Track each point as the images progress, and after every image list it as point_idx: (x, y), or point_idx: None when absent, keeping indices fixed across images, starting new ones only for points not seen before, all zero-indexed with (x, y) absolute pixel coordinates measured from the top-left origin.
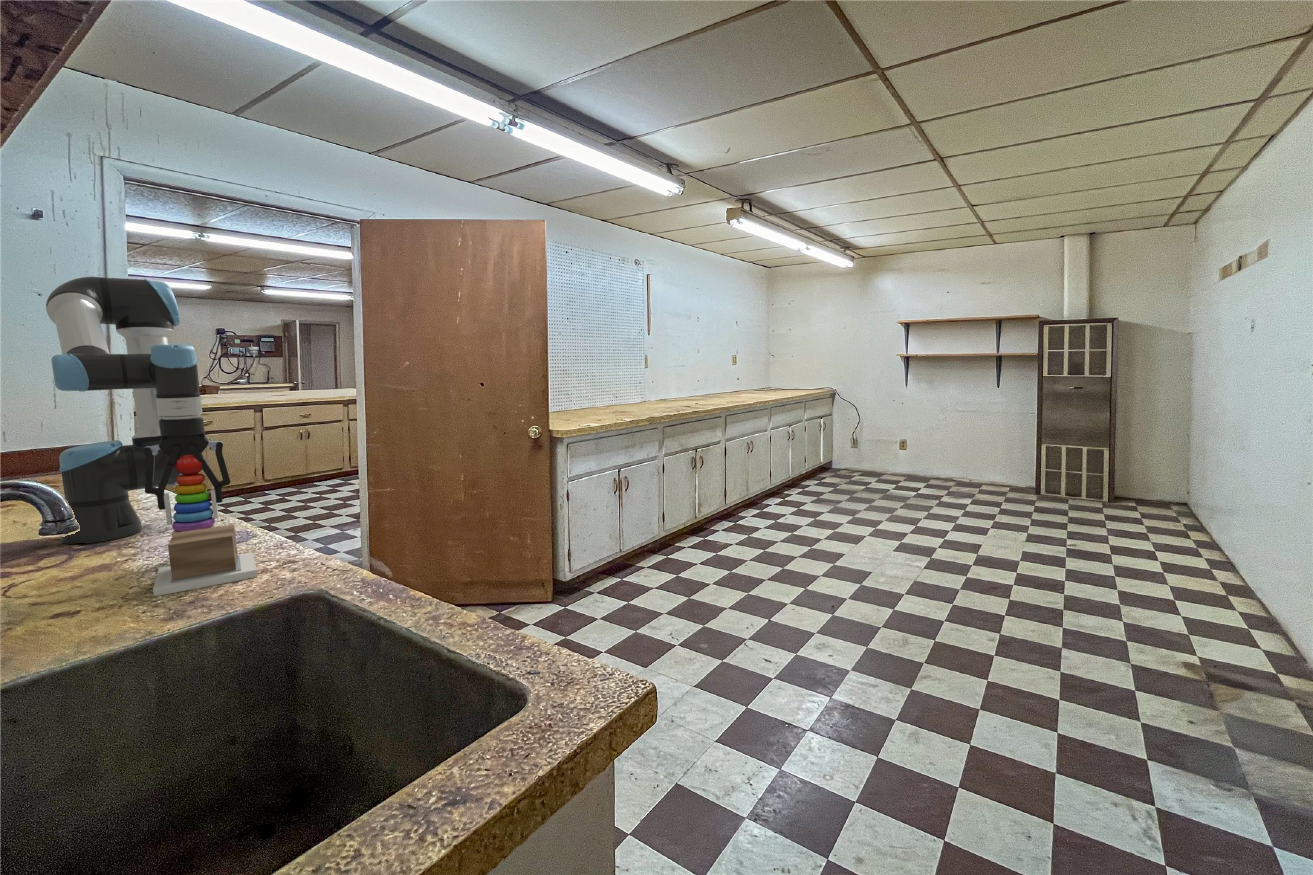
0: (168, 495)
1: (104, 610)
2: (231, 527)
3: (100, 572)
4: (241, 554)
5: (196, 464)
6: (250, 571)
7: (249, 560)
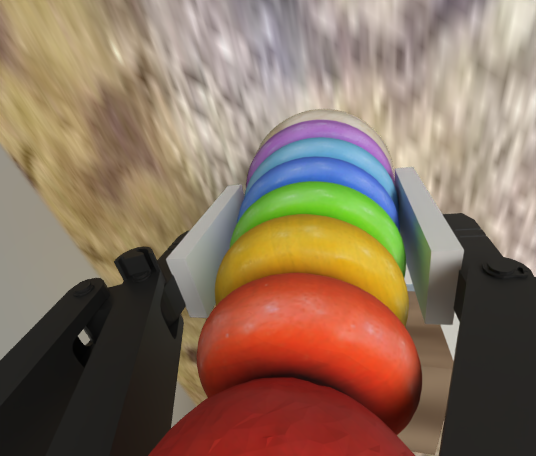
0: (203, 295)
1: None
2: (443, 393)
3: (139, 171)
4: None
5: None
6: None
7: (449, 326)
